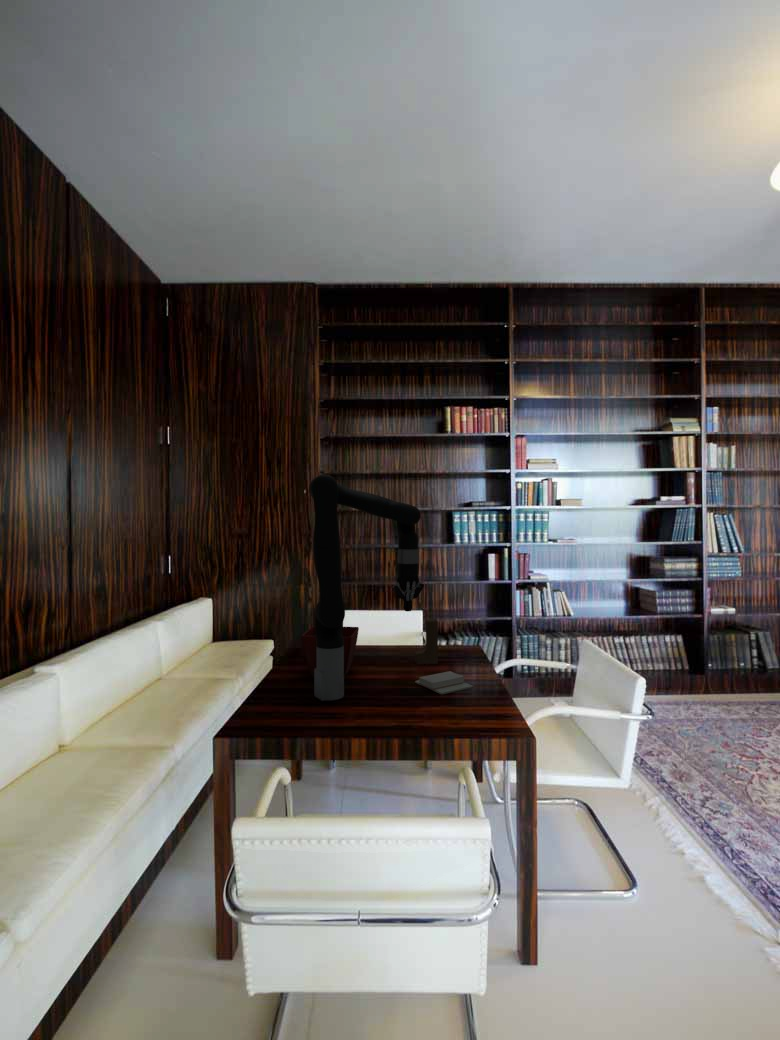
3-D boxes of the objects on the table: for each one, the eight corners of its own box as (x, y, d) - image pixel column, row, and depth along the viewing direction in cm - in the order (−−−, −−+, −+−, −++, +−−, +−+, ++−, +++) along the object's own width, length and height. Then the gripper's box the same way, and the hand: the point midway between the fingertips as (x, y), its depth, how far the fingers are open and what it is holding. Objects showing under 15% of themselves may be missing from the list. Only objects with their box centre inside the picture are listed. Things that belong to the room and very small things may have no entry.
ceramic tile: (432, 682, 186) (463, 676, 193) (419, 677, 193) (449, 671, 200) (432, 690, 186) (463, 683, 193) (419, 684, 193) (449, 677, 200)
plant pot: (359, 667, 217) (359, 626, 217) (351, 681, 198) (351, 636, 198) (313, 666, 219) (313, 625, 219) (301, 680, 200) (300, 635, 200)
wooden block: (416, 664, 220) (416, 621, 220) (415, 661, 225) (415, 619, 225) (438, 664, 221) (437, 621, 220) (436, 661, 225) (436, 619, 225)
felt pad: (441, 694, 183) (441, 692, 183) (415, 682, 196) (415, 680, 196) (472, 687, 190) (472, 685, 190) (445, 676, 204) (445, 674, 204)
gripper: (398, 563, 182) (397, 614, 182) (429, 562, 189) (429, 611, 189) (386, 561, 188) (386, 611, 188) (417, 560, 195) (417, 608, 195)
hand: (407, 610), depth 188 cm, fingers closed
